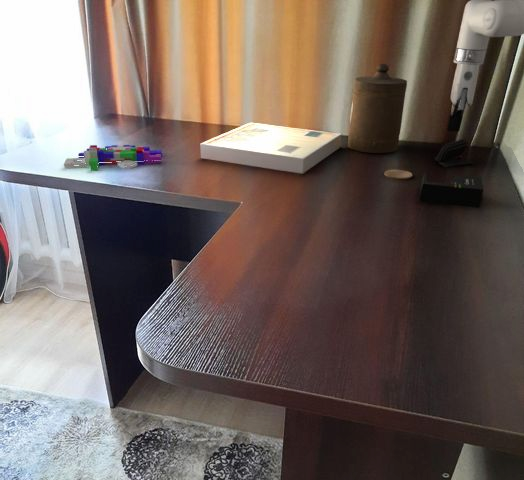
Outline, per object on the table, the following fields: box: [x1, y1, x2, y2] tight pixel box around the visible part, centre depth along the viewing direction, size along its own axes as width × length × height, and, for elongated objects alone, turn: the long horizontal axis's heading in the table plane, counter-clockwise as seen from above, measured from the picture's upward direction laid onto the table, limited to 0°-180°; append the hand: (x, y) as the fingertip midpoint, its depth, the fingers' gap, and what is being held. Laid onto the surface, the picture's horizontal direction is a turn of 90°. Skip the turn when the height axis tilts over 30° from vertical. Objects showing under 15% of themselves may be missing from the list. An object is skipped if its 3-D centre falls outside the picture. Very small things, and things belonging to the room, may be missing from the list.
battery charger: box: [419, 171, 484, 208], centre depth 115 cm, size 13×10×4 cm
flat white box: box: [199, 122, 343, 175], centre depth 145 cm, size 30×4×30 cm
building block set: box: [63, 144, 163, 172], centre depth 138 cm, size 25×20×4 cm
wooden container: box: [347, 63, 408, 154], centre depth 146 cm, size 15×15×22 cm
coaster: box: [383, 169, 413, 180], centre depth 130 cm, size 7×7×1 cm
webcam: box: [434, 138, 473, 168], centre depth 138 cm, size 9×6×6 cm
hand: (452, 130), depth 144 cm, fingers closed
